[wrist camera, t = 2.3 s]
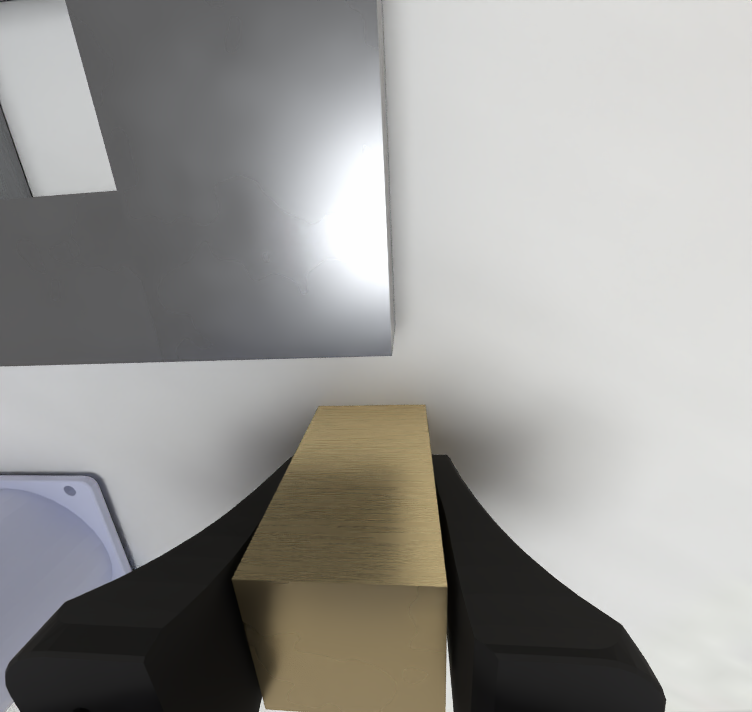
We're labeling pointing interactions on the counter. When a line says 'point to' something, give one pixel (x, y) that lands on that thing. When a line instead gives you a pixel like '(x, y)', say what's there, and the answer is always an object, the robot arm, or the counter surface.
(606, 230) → the counter surface
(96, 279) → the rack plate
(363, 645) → the brass peg
